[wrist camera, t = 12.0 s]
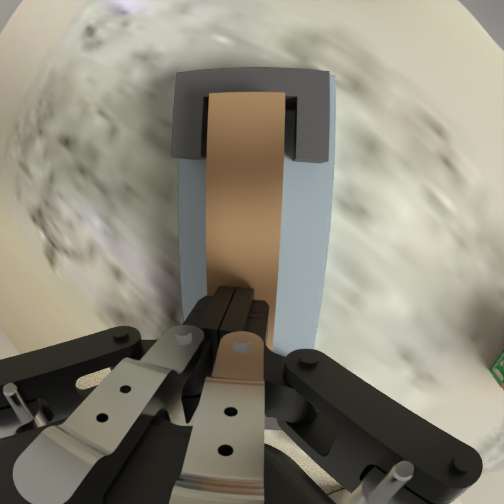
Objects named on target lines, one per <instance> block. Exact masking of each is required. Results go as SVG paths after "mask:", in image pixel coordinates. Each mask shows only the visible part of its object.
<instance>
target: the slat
mask: <svg viewBox="0 0 504 504" xmlns="http://www.w3.org/2000/svg"><path fill="white" fill-rule="evenodd" d="M284 144H285V93H284V92H226V93H209V107H208V129H207V159H206V274H207V296H214V294H215V292H216V290H217V289H218V287H219V286H228V287H236V288H237V287H240V288H253V289H254V300H264V301H266V302H267V304H268V305H269V322H268V335H267V344H266V346H267V347H268V348H269V349H270V350H271V351H272V350H273V338H274V326H275V313H276V300H277V285H278V270H279V254H280V237H281V218H282V197H283V173H284ZM265 420H266V415H265V414H264V429H265Z"/></svg>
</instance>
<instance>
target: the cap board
mask: <svg viewBox="0 0 504 504" xmlns="http://www.w3.org/2000/svg"><path fill="white" fill-rule="evenodd" d="M226 92H284V93H285V144H284V173H283V197H282V218H281V237H280V254H279V270H278V285H277V300H276V313H275V326H274V338H273V350H272V351H273V352H274V353H276V354H279V355H282V356H285V357H286V356H287V355H288V354H289V353H290V352H292V351H294V350H297V349H314V344H315V338H316V332H317V326H318V320H319V313H320V307H321V300H322V293H323V285H324V278H325V270H326V261H327V252H328V243H329V233H330V222H331V210H332V196H333V180H334V160H335V124H336V91H335V75H329V71H321V70H310V69H297V68H274V67H243V68H220V69H207V70H196V71H187V72H179V73H177V74H176V84H175V96H174V110H173V128H172V153H171V157H172V158H179V160H178V231H179V260H180V279H181V295H182V309H183V321H185V320H186V318H187V317H188V315H189V314H190V312H191V311H192V309H193V308H194V306H195V304H196V303H197V301H198V300H199V299H201V298H203V297H205V296H206V295H207V274H206V159H207V129H208V107H209V93H226ZM265 429H269V430H282V429H281V428H280V427H279V425H278V423H277V419H276V418H273V417H270V416H268V415H266V420H265Z"/></svg>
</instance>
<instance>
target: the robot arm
mask: <svg viewBox="0 0 504 504" xmlns="http://www.w3.org/2000/svg"><path fill="white" fill-rule="evenodd" d="M268 322H269V305H268V304H267V302H266V301H264V300H254V289H253V288H240V287H237V288H236V287H228V286H219V287H218V289H217V290H216V292H215V294H214V296H207V295H206V296H205V297H203V298H201V299H199V300H198V301H197V303H196V304H195V306H194V308H193V309H192V311H191V312H190V314H189V315H188V317H187V318H186V320H185V321H184V323H183V324H182V325H177V326H174V327H171V328H169V329H167V330H166V331H165V332H164V333H163V334H162V336H161V337H160V338H159V339H158V340H141V335H140V332H139V331H138V330H137V329H136V328H133V327H130V326H118V327H114V328H111V329H107V330H104V331H101V332H98V333H94V334H91V335H88V336H84V337H81V338H77V339H74V340H71V341H67V342H64V343H60V344H57V345H53V346H50V347H46V348H42V349H39V350H35V351H32V352H28V353H24V354H21V355H17V356H13V357H9V358H5V359H2V360H0V504H450V503H451V502H453V501H454V500H455V499H456V498H458V497H459V496H460V495H461V494H462V493H464V492H465V491H466V490H467V489H468V488H469V487H470V486H472V485H473V484H474V483H475V482H476V481H477V480H478V479H479V477H480V475H481V473H482V468H483V464H482V459H481V457H480V455H479V453H478V452H477V451H476V450H475V449H474V448H472V447H470V446H469V445H467V444H465V443H463V442H462V441H460V440H458V439H456V438H455V437H453V436H451V435H450V434H448V433H446V432H444V431H443V430H441V429H439V428H438V427H436V426H434V425H433V424H431V423H429V422H428V421H426V420H425V419H423V418H421V417H420V416H418V415H416V414H415V413H413V412H412V411H410V410H408V409H407V408H405V407H404V406H402V405H401V404H399V403H397V402H396V401H394V400H393V399H391V398H390V397H388V396H387V395H385V394H383V393H382V392H380V391H379V390H377V389H376V388H374V387H373V386H371V385H370V384H368V383H367V382H365V381H364V380H362V379H361V378H359V377H358V376H356V375H355V374H353V373H352V372H350V371H349V370H347V369H346V368H344V367H343V366H341V365H340V364H339V363H337V362H336V361H334V360H333V359H331V358H330V357H328V356H327V355H326V354H324V353H322V352H320V351H317V350H314V349H297V350H294V351H292V352H290V353H289V354H288V355H287V356H286V357H285V356H282V355H279V354H276V353H274V352H273V351H271V350H270V349H269V348H268V347H267V346H266V344H267V335H268ZM108 367H110V369H111V372H110V373H109V374H108V375H107V376H106V378H105V379H104V380H103V381H102V382H101V383H100V384H99V385H97V386H94V387H91V388H88V389H85V390H81V389H78V388H77V387H76V386H75V384H76V381H77V379H78V378H80V377H82V376H84V375H88V374H91V373H94V372H97V371H99V370H102V369H105V368H108ZM264 414H265V415H268V416H270V417H273V418H276V419H277V423H278V425H279V427H280V428H281V429H282V430H283V431H284V432H285V433H286V434H287V435H288V436H289V437H290V438H291V439H292V440H293V441H294V442H295V443H296V444H297V445H298V446H299V447H300V448H301V449H302V450H303V451H304V452H305V453H306V454H307V455H308V456H309V457H310V458H312V459H313V460H314V461H315V462H316V463H317V464H318V465H319V466H320V467H321V468H322V469H323V470H325V471H326V472H327V473H328V474H329V475H330V476H331V477H332V478H334V479H335V480H336V481H337V482H338V483H339V484H340V485H342V486H343V487H344V488H345V489H343V490H340V491H337V492H334V493H332V494H330V495H327V494H326V493H325V492H324V491H323V490H322V489H321V488H320V487H319V486H318V485H317V484H316V483H315V482H314V481H313V480H312V479H311V478H310V477H309V476H308V475H307V474H306V473H305V472H304V471H303V470H302V469H301V468H300V466H299V465H298V464H297V463H296V462H295V461H294V460H292V459H291V458H290V457H289V456H288V455H286V454H285V453H283V452H282V451H280V450H278V449H276V448H274V447H272V446H270V445H268V444H265V443H264Z"/></svg>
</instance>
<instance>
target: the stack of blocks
mask: <svg viewBox="0 0 504 504" xmlns="http://www.w3.org/2000/svg"><path fill="white" fill-rule="evenodd" d="M489 371H490V373H491V374H492V375H493V377H494V378H495V380H496V381H497V383H498V384H499V385H500V387H502V388H503V389H504V350H503V352H502V353H501V355H500V356H499V357H498V359H497V360H496V362H495V363H494V364H493V366H492V367H491V368H490V370H489Z"/></svg>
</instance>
